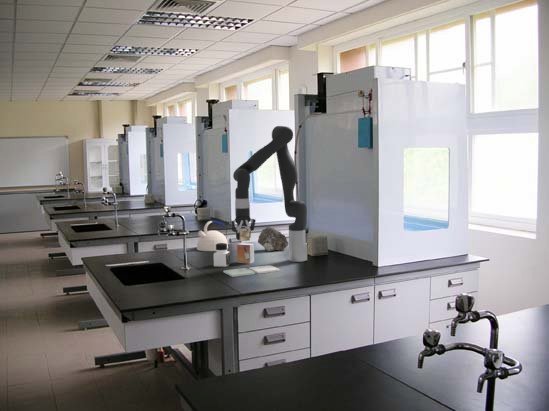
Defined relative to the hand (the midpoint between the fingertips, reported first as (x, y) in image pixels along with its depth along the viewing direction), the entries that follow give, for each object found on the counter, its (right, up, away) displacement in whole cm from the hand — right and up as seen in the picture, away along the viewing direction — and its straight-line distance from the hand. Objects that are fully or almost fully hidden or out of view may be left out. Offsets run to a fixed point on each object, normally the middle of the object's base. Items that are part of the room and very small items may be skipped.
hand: (243, 239), depth 291 cm
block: (0, 0, 0) cm, 0 cm away
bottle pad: (-1, -16, -12) cm, 20 cm away
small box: (0, -14, +15) cm, 21 cm away
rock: (+16, -10, +54) cm, 57 cm away
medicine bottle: (-12, -15, +9) cm, 21 cm away
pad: (+11, -16, -6) cm, 20 cm away
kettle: (-23, -10, +64) cm, 69 cm away
